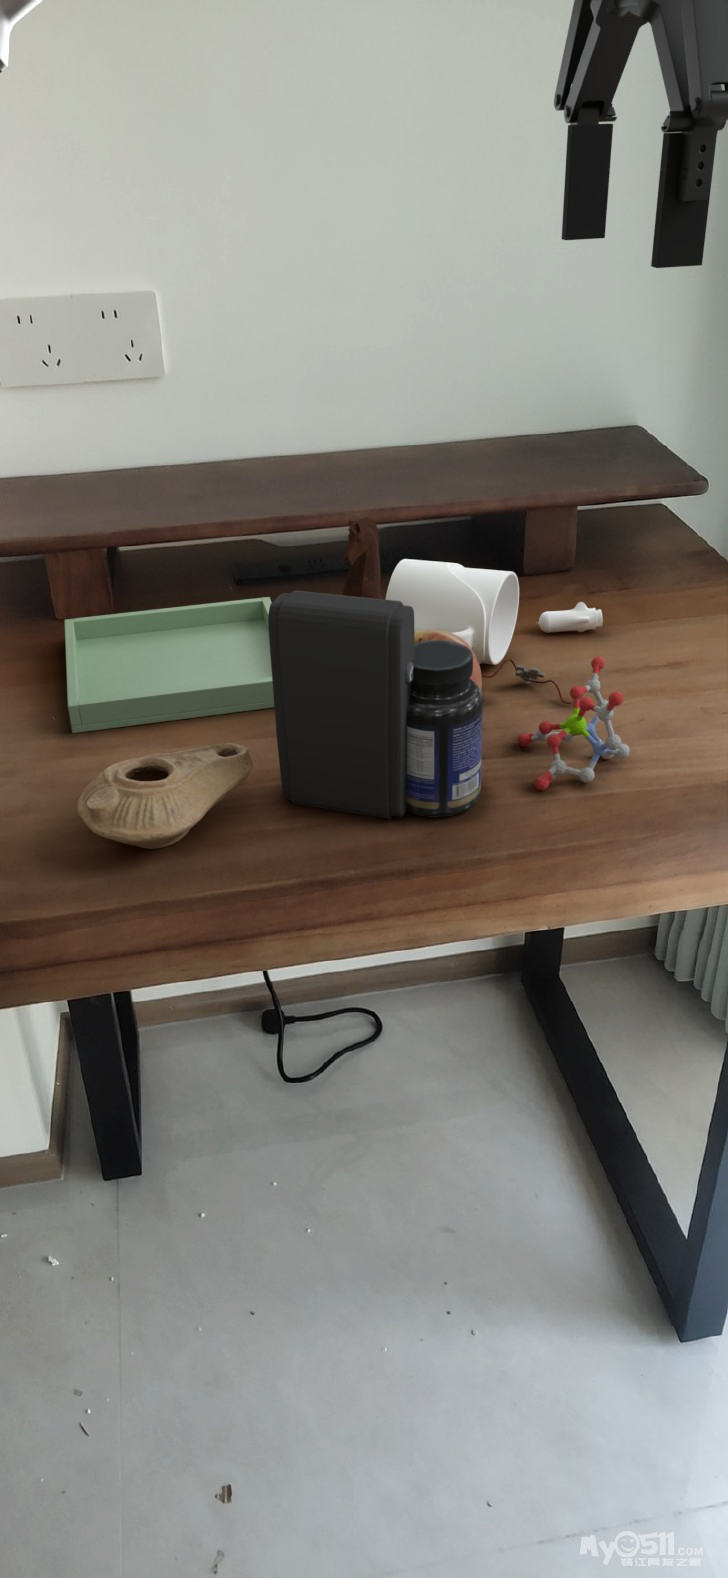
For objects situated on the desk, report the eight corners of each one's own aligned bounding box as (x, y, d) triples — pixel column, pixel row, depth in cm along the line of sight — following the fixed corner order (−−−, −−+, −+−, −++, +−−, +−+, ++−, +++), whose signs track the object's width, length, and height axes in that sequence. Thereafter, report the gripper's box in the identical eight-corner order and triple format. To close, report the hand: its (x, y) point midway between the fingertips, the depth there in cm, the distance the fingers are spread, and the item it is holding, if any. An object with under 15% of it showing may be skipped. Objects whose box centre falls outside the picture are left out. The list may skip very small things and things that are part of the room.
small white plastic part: (539, 620, 109) (545, 588, 108) (602, 636, 107) (609, 603, 106) (527, 630, 106) (534, 597, 105) (592, 647, 104) (599, 613, 103)
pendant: (479, 649, 96) (478, 663, 99) (468, 697, 95) (468, 710, 97) (577, 667, 95) (574, 681, 98) (567, 716, 94) (564, 729, 96)
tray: (72, 733, 92) (67, 706, 91) (68, 643, 107) (64, 619, 106) (306, 703, 96) (304, 676, 94) (271, 620, 110) (269, 596, 109)
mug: (417, 626, 108) (417, 542, 104) (517, 639, 105) (521, 553, 101) (370, 681, 98) (368, 591, 94) (478, 697, 95) (481, 605, 91)
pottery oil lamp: (290, 807, 81) (273, 753, 75) (143, 908, 79) (113, 861, 72) (221, 725, 85) (199, 668, 79) (79, 819, 83) (45, 767, 76)
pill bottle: (469, 771, 86) (473, 631, 80) (490, 815, 81) (495, 669, 75) (386, 779, 85) (383, 638, 79) (401, 825, 80) (400, 678, 74)
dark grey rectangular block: (421, 796, 83) (421, 596, 75) (404, 827, 80) (403, 621, 72) (299, 778, 85) (287, 583, 78) (278, 807, 82) (263, 606, 74)
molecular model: (608, 735, 90) (617, 645, 86) (638, 789, 83) (649, 694, 79) (514, 740, 89) (519, 650, 86) (536, 795, 83) (543, 700, 79)
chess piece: (327, 626, 109) (322, 521, 104) (358, 608, 112) (355, 505, 107) (368, 636, 107) (365, 529, 101) (398, 617, 110) (397, 513, 105)
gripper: (872, -259, 51) (791, 275, 62) (630, -160, 71) (602, 226, 82) (711, -263, 49) (658, 284, 60) (512, -161, 70) (500, 232, 81)
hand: (626, 252), depth 71 cm, fingers open, 13 cm apart
